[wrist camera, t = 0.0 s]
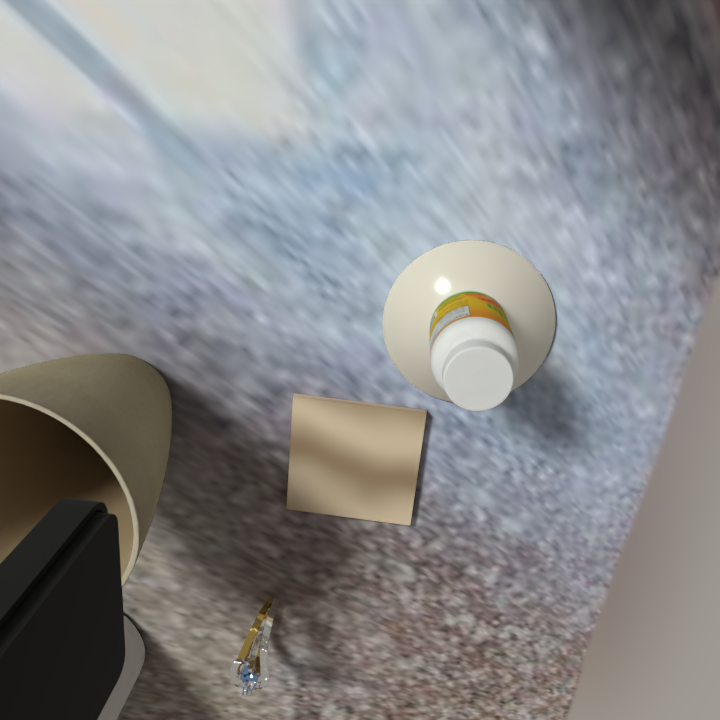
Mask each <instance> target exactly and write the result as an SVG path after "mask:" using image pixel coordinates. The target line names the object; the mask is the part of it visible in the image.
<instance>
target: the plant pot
mask: <svg viewBox="0 0 720 720" xmlns="http://www.w3.org/2000/svg"><path fill="white" fill-rule="evenodd" d="M171 431H172V401H171V395H170V391H169V388H168V386H167V384H166V382H165V380H164V379H163V378H162V376H161V375H160V374H159V373H158V371H157V370H156V369H154V368H153V367H152V366H151V365H149V364H148V363H146V362H145V361H143V360H141V359H139V358H137V357H134V356H131V355H126V354H91V355H81V356H73V357H66V358H61V359H55V360H50V361H45V362H41V363H37V364H33V365H29V366H25V367H21V368H17V369H14V370H11V371H7V372H4V373H1V374H0V564H1V562H2V561H3V560H4V559H5V558H6V557H7V556H8V555H9V554H10V553H11V552H12V551H13V549H14V548H15V547H16V546H17V545H18V544H19V543H20V542H21V541H22V540H23V539H24V538H25V536H26V535H27V534H28V533H29V532H30V531H31V530H32V529H33V528H34V527H35V526H36V525H37V523H38V522H39V521H40V520H41V519H42V518H43V517H44V516H45V515H46V514H47V513H48V512H49V510H50V509H51V508H52V507H53V506H54V505H55V504H56V503H57V502H58V501H59V500H61V499H62V498H66V497H68V498H75V499H82V500H90V501H97V502H102V503H104V504H105V505H106V507H107V510H108V513H110V514H114V515H116V517H117V519H118V529H119V546H120V564H121V581H122V587H123V586H124V584H125V583H126V581H127V580H128V578H129V576H130V575H131V573H132V570H133V568H134V565H135V563H136V561H137V558H138V556H139V553H140V551H141V548H142V546H143V543H144V541H145V538H146V535H147V533H148V530H149V527H150V525H151V522H152V519H153V516H154V513H155V510H156V507H157V504H158V500H159V497H160V493H161V489H162V486H163V481H164V477H165V472H166V468H167V463H168V457H169V450H170V443H171Z"/></svg>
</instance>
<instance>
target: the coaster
mask: <svg viewBox="0 0 720 720" xmlns="http://www.w3.org/2000/svg"><path fill="white" fill-rule="evenodd" d="M468 290H473V291H479V292H482V293H485V294H487V295H489V296H491V297H492V298H494V299H495V300H496V301H497V302H498V303H499V304H500V305H501V307H502V308H503V310H504V312H505V314H506V317H507V320H508V322H509V325H510V328H511V330H512V333H513V335H514V338H515V340H516V343H517V346H518V350H519V356H520V362H519V368H518V372H517V375H516V377H515V379H514V382H513V387H512V389H511V391H513V390H515V389H516V388H518V387H519V386H521V385H522V384H523V383H524V382H526V381H527V380H528V379H529V378H530V377H531V376H532V375H533V374H534V373H535V372H536V371H537V369H538V368H539V367H540V366H541V364H542V362H543V361H544V359H545V358H546V356H547V354H548V351H549V349H550V347H551V344H552V340H553V337H554V331H555V308H554V302H553V299H552V295H551V292H550V290H549V288H548V286H547V283H546V282H545V280H544V279H543V277H542V275H541V274H540V273H539V271H538V270H537V269H536V268H535V267H534V266H533V264H531V263H530V262H529V261H528V260H527V259H526V258H524V257H523V256H522V255H520V254H518V253H517V252H515V251H514V250H512V249H509V248H507V247H505V246H503V245H499V244H496V243H493V242H487V241H482V240H463V241H455V242H451V243H446V244H443V245H440V246H438V247H435V248H433V249H431V250H429V251H427V252H425V253H424V254H422V255H421V256H419V257H418V258H416V259H415V260H414V261H413V262H411V263H410V264H409V265H408V266H407V267H406V268H405V269H404V270H403V272H402V273H401V274H400V275H399V277H398V278H397V280H396V281H395V283H394V284H393V286H392V288H391V290H390V292H389V294H388V297H387V300H386V304H385V308H384V314H383V335H384V340H385V344H386V348H387V350H388V353H389V356H390V358H391V359H392V361H393V363H394V365H395V366H396V368H397V369H398V370H399V372H400V373H401V374H402V375H403V376H404V377H405V378H406V379H407V380H408V381H409V382H410V383H411V384H412V385H414V386H415V387H416V388H418V389H419V390H421V391H423V392H424V393H426V394H429V395H431V396H433V397H435V398H439V399H442V400H445V401H451V402H453V401H452V400H451V399H450V398H449V397H448V395H447V393H446V392H445V391H444V390H443V389H442V388H441V387H440V386H439V385H438V383H437V382H436V380H435V378H434V376H433V373H432V369H431V364H430V336H429V334H430V333H429V329H430V321H431V317H432V315H433V313H434V311H435V309H436V308H437V306H438V305H439V304H440V303H441V302H442V301H443V300H444V299H445V298H447V297H448V296H450V295H452V294H454V293H457V292H461V291H468Z"/></svg>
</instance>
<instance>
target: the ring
mask: <svg viewBox="0 0 720 720" xmlns="http://www.w3.org/2000/svg"><path fill="white" fill-rule="evenodd" d="M278 601H279V600H278V599H275V598H274V597H271V596H269V597H268V599H267V600H266V602H265V604H264V606H263V607H262V609H261V611H260V613H259V615H258V616H257V618H256V620H255V622H254V624H253V626H252V628H251V630H250V632H249V634H248V636H247V638H246V640H245V642H244V645H243V647H242V649H241V651H240V654H239V656H238V658H237V660H235V661H234V662H233V664H232V666H231V668H230V677H231V680H232V682H233V684H234V685H235V686H236V687H238V688H243V693H242V696H244V697H246V696H247V693H248V694H249V695H251V693H252V691H254V692H255V691H256V689H262V688H263V687H267V686H268V685H269V673H268V644H269V637H270V632H271V627H272V623H273V619H274V616H275V612H276V608H277V605H278ZM257 632H258V633H257ZM256 634H257V636H256ZM255 636H256V640H255V643H254V646H253V649H252V652H251V655H250V658H248V657H249V653H250V650H251V647H252V644H253V641H254V639H255ZM242 664H245V665H244V667H243V669H242V671H241V673H240V666H241V665H242ZM260 669H261V671H260ZM249 685H250V686H249ZM248 689H249V690H248ZM252 689H253V690H252Z"/></svg>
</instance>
